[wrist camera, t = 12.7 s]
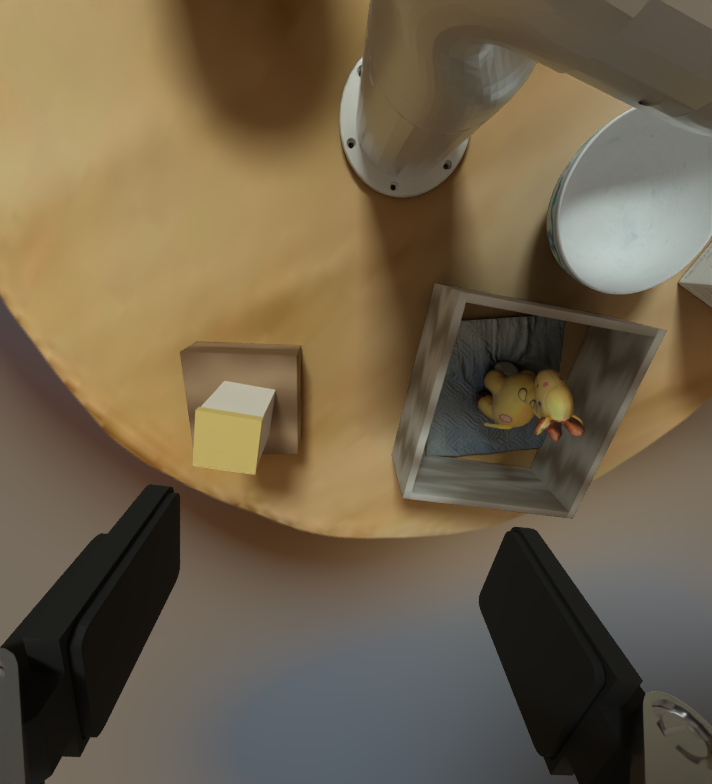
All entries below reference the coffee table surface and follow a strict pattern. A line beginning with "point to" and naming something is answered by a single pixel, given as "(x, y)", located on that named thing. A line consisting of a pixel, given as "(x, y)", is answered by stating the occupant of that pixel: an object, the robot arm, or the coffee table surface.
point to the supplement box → (700, 277)
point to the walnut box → (249, 383)
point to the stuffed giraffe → (503, 389)
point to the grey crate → (556, 458)
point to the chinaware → (632, 205)
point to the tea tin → (233, 428)
